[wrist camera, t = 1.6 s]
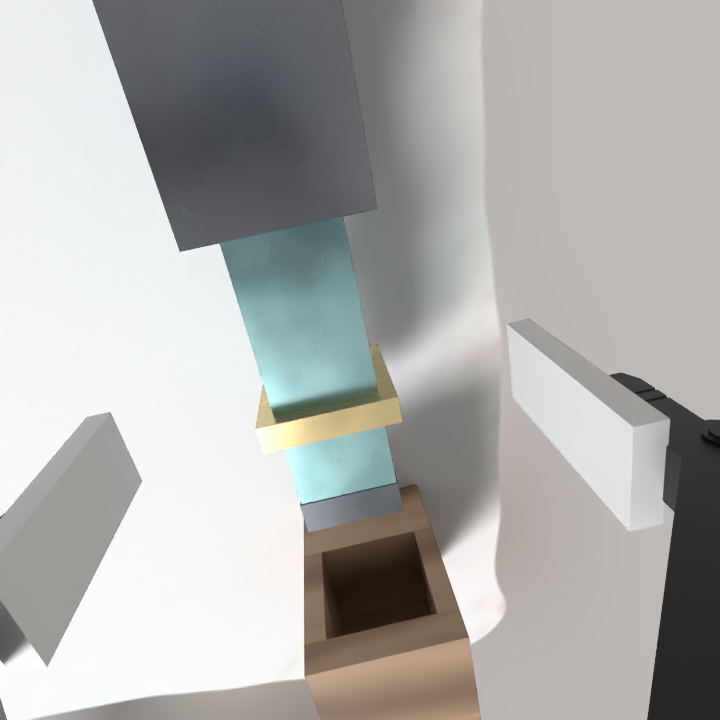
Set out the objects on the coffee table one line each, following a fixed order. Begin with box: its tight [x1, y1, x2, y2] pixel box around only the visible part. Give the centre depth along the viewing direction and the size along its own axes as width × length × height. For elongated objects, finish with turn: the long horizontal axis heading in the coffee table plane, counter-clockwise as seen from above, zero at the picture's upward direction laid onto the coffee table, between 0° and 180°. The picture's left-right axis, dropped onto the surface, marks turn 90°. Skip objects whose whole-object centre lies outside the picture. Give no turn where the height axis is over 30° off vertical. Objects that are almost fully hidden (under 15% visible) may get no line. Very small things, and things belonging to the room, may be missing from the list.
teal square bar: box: [220, 217, 403, 532], centre depth 19 cm, size 28×6×6 cm, turn 11°
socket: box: [304, 485, 481, 720], centre depth 30 cm, size 8×8×12 cm
